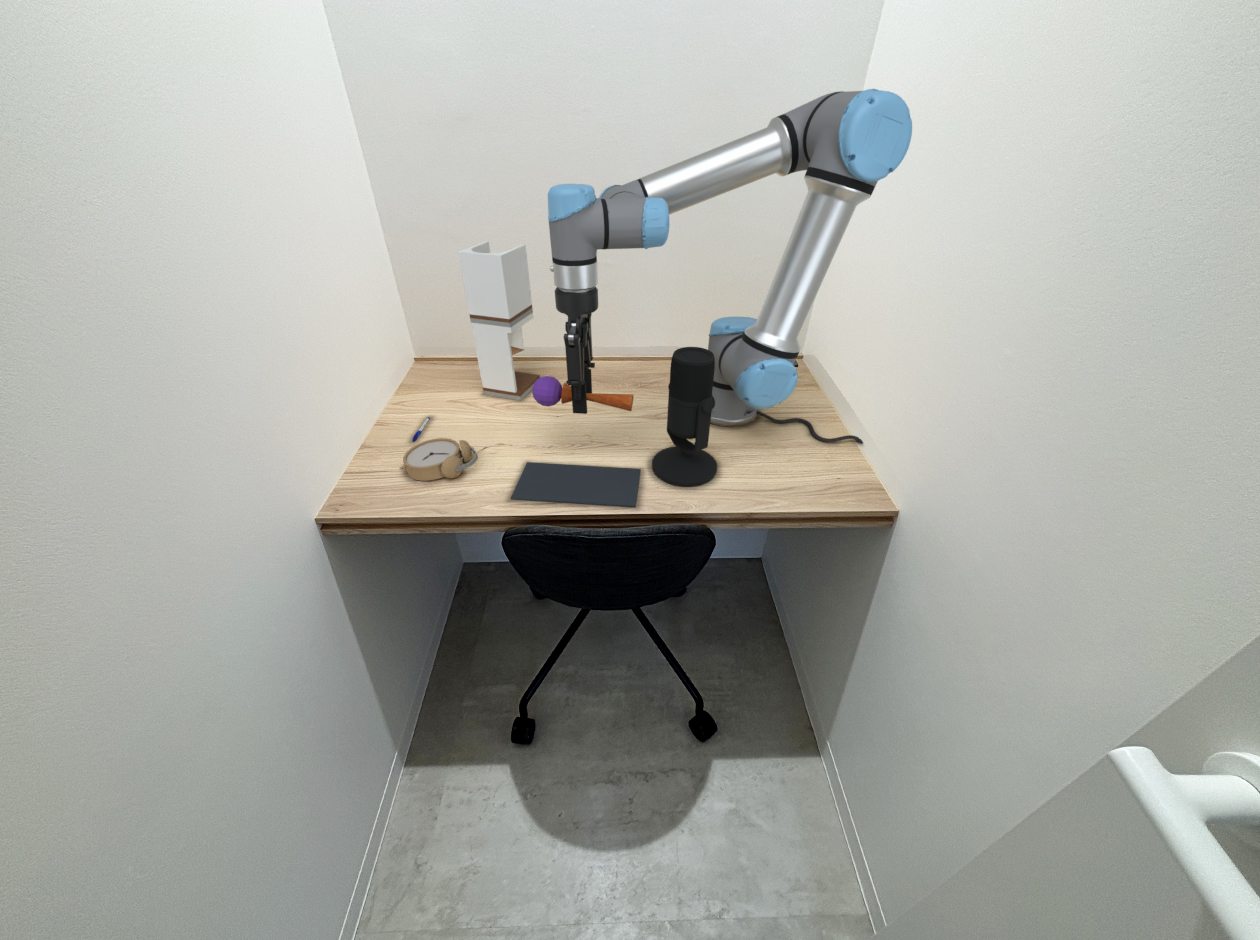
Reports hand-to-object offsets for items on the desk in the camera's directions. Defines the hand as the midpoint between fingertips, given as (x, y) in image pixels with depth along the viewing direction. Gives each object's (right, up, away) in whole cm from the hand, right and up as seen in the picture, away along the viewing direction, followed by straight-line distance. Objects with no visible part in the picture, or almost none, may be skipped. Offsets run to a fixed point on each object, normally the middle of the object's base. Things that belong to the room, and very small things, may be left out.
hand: (582, 405), depth 101 cm
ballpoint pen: (-39, -4, +17) cm, 43 cm away
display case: (-22, +9, +34) cm, 41 cm away
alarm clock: (-29, -12, +4) cm, 32 cm away
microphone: (+21, -13, +5) cm, 25 cm away
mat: (-1, -16, 0) cm, 16 cm away
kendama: (0, 0, 0) cm, 1 cm away
